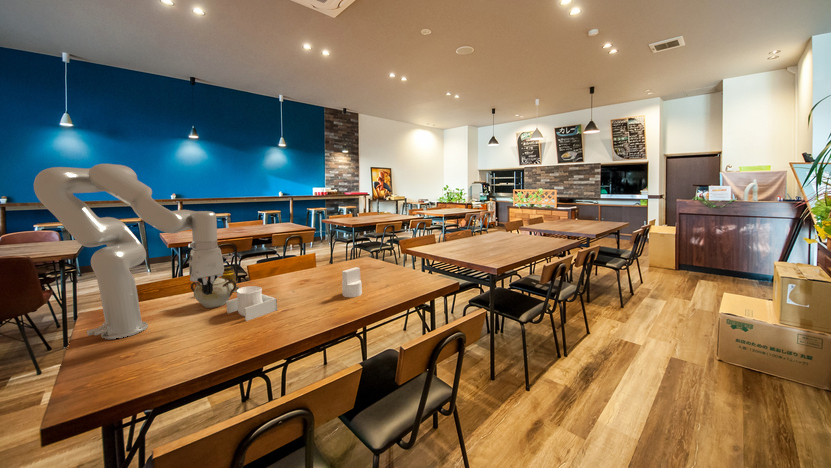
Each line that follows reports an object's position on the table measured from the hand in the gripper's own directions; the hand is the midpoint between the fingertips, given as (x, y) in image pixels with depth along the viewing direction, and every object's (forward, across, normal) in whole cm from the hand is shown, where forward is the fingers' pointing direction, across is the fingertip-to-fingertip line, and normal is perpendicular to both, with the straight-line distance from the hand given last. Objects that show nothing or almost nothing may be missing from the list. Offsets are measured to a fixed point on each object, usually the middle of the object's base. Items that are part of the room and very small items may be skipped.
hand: (207, 293), depth 120 cm
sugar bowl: (+13, +12, +20) cm, 27 cm away
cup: (+12, +15, -1) cm, 19 cm away
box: (+11, +16, -2) cm, 19 cm away
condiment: (+13, +25, +35) cm, 45 cm away
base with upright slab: (+9, +53, -21) cm, 58 cm away
